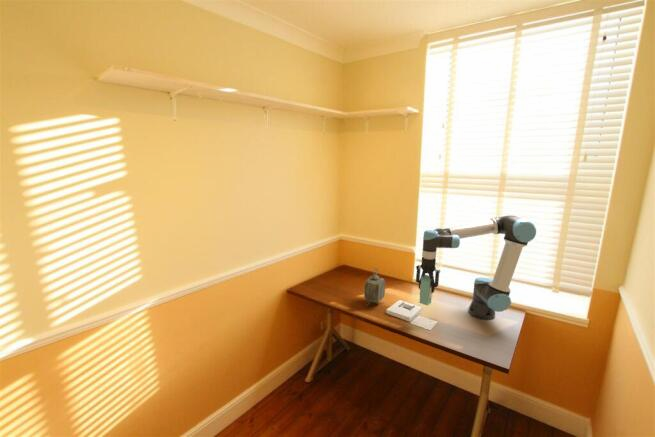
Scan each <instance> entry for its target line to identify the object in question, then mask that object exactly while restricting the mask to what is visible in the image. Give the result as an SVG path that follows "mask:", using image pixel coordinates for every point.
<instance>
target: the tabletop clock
mask: <svg viewBox="0 0 655 437" xmlns="http://www.w3.org/2000/svg"><path fill="white" fill-rule="evenodd" d="M378 271H379V269H378V267H375V268H374V269H373V272H372V275H371V276H369V277H368V278H367V279H366V280H365V283H364V291H363V292H364V294H363V295H364V298H363V299H364V301H367V302H368V303H367V304H366V306H367V307H369V305H370V303H376V306H379V303H380V302H381V301H382V300H383V299H384V297H385V294H386V293H385V292H386V280H385V279H384V278H383V277H380V276H379V275H377V274H378Z"/></svg>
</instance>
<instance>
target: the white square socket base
mask: <svg viewBox="0 0 655 437" xmlns="http://www.w3.org/2000/svg"><path fill="white" fill-rule="evenodd" d="M423 309H424V308H423V306H419V305H416V304H413V303H412V302H411V303H410V302H407V301H404V300H400V299H399V300H397V301H396V302H395V303H393V304H392V305H391V306H390V307H388V308H387V309H386V310H385V314H387V315H389V316H393V317H396V318H398V319H402V320H403V321H407V322H410V323H411V322H412V321H413V320H414V319H415V318H416V317H417V316H419V315H420V314H421V313H422V312H423Z"/></svg>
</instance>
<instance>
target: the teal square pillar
mask: <svg viewBox="0 0 655 437" xmlns="http://www.w3.org/2000/svg"><path fill="white" fill-rule="evenodd" d="M420 278H421V289H419V302H418V303H419V304H421V305H425V306H429V305H430V304H432V298H433V296H432V297H431V298H429V294H430V287H431V279H430V276H429V274H425V276H422V277H421V276H420Z"/></svg>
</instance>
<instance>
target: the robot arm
mask: <svg viewBox="0 0 655 437" xmlns="http://www.w3.org/2000/svg"><path fill="white" fill-rule="evenodd" d="M489 234H493V235H499V234H500V235H502V234H503V235H504V237H503V241H504V242H505V243H504V245H503V249H502V252H501V255H500V258H499V261H498V264H497V266H496V270H495V273H494V275H493V278H489V277H477V278H475V280H474V282H473V292H472V293H473V295H472V300H471V303H470V305H469V306H468V313H469V314H470V315H471V316H473V317H475V318H478V319H481V320H493V319H495V317H496V312H497V313H501V312H504V311H506V310H508V309H509V308H510V307H511V304H512V300H511V297H510V294H511V288H510V284H511V282H512V279H513V276H514V274H515V270H516V267H517V264H518V262H519V259H520V256H521V254H522V250H523V248H524V247H527V246H528V243H529V242H531V241H533V240H534V238H535V237H536V235H537V228H536V226H535V224H534V223H533V222H532V221H530V220H528V219H526V218H523V217H518V216H516V215H502V216H496V217H493V218H490V219H489V220H486V221H480V222H474V223H469V224H464V225H458V226H452V227H449V228H439V227H438V228H435V229H434V230H433V229H426V230H425V231H424V232H423V237H422V239H423V240H422V251H421V256H422V257H421V264H417V265H416V266H415V268H416V275H415V282H416V283H418V289H419V290H420V289H421V277H422V276H425V275H429V276H430V279H431V287H430V294H429V298H431V297H432V298H433V294H434V293H435V288H437V287H439V282H440V281H439V280H440V279H439V278H440V273H441V270H440V269H438V268H437V267H436V264H437V263H436V260H437V259H436V257H437V249H438V248H439V249H457V248H459V247H460V244H461V239H467V238H472V237H479V236H484V235H489ZM434 273H435V275H434ZM432 298H431V299H432Z"/></svg>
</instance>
